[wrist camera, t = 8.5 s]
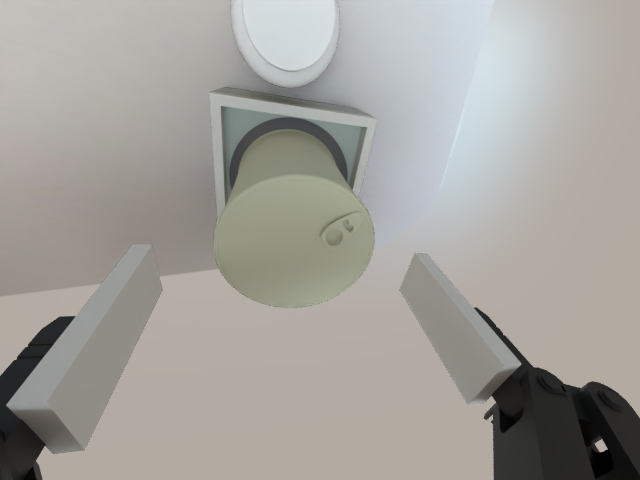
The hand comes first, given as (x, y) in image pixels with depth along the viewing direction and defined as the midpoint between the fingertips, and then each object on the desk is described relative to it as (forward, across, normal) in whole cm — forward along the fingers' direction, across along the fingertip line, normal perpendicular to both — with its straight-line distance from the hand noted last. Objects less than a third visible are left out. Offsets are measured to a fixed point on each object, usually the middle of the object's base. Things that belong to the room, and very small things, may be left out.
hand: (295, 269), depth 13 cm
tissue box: (+19, +1, 0) cm, 19 cm away
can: (+13, 0, 0) cm, 13 cm away
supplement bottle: (+19, -1, +11) cm, 22 cm away
